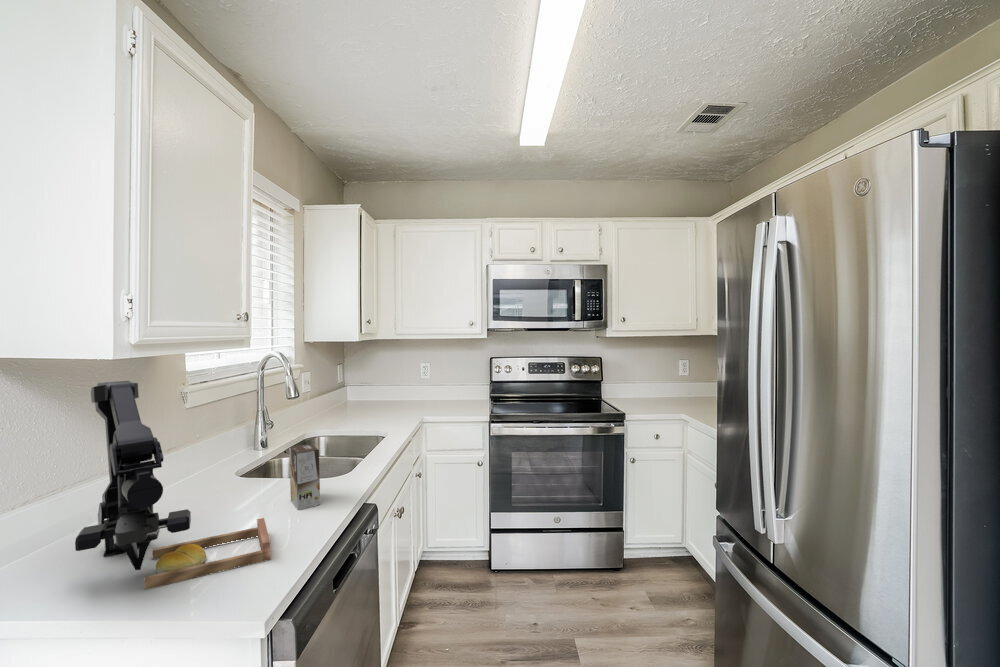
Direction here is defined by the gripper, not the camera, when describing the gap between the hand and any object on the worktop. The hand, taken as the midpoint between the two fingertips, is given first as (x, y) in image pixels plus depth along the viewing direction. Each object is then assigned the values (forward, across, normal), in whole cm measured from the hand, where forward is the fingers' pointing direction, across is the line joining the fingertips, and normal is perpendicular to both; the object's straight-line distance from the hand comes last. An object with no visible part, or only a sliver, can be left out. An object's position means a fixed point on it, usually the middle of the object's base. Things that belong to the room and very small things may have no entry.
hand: (138, 569), depth 101 cm
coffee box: (+2, +36, +24) cm, 44 cm away
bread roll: (+2, +8, 0) cm, 8 cm away
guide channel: (+1, +13, 0) cm, 13 cm away
